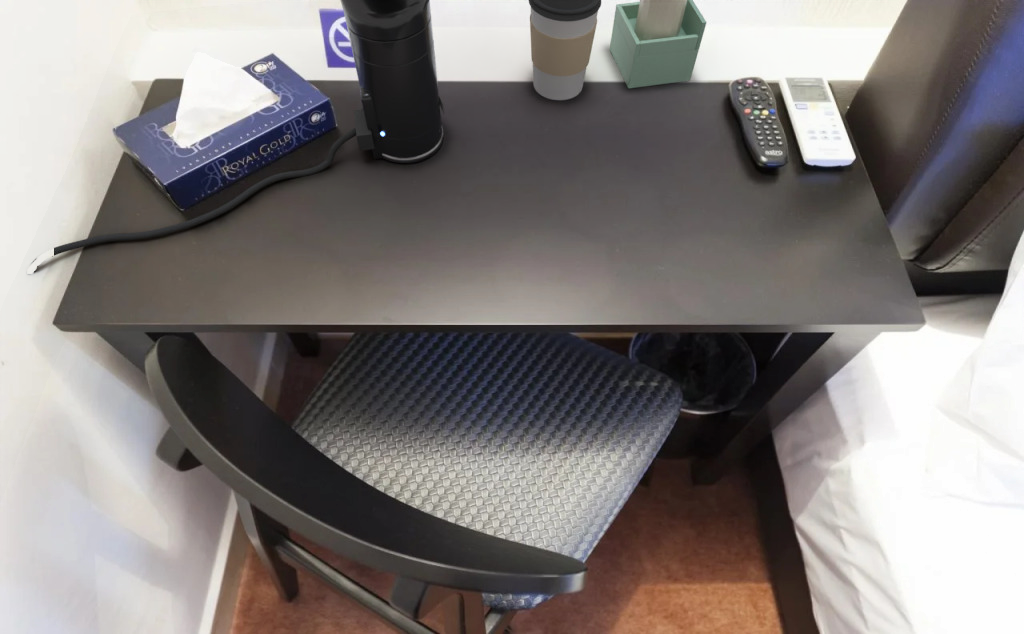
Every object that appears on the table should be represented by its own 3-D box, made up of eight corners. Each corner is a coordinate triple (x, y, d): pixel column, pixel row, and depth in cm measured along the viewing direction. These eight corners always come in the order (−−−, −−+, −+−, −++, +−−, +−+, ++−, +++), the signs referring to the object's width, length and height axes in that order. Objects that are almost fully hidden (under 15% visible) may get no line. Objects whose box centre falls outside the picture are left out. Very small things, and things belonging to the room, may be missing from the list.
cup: (642, 48, 90) (655, -16, 82) (628, 23, 93) (639, -42, 85) (684, 43, 90) (700, -21, 83) (669, 18, 94) (684, -46, 86)
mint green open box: (628, 88, 93) (639, 30, 85) (609, 49, 98) (618, -10, 90) (690, 80, 94) (706, 22, 86) (668, 41, 99) (682, -17, 91)
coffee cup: (585, 109, 90) (598, 6, 78) (520, 100, 91) (522, -4, 79) (594, 68, 95) (608, -36, 82) (532, 60, 96) (536, -44, 83)
